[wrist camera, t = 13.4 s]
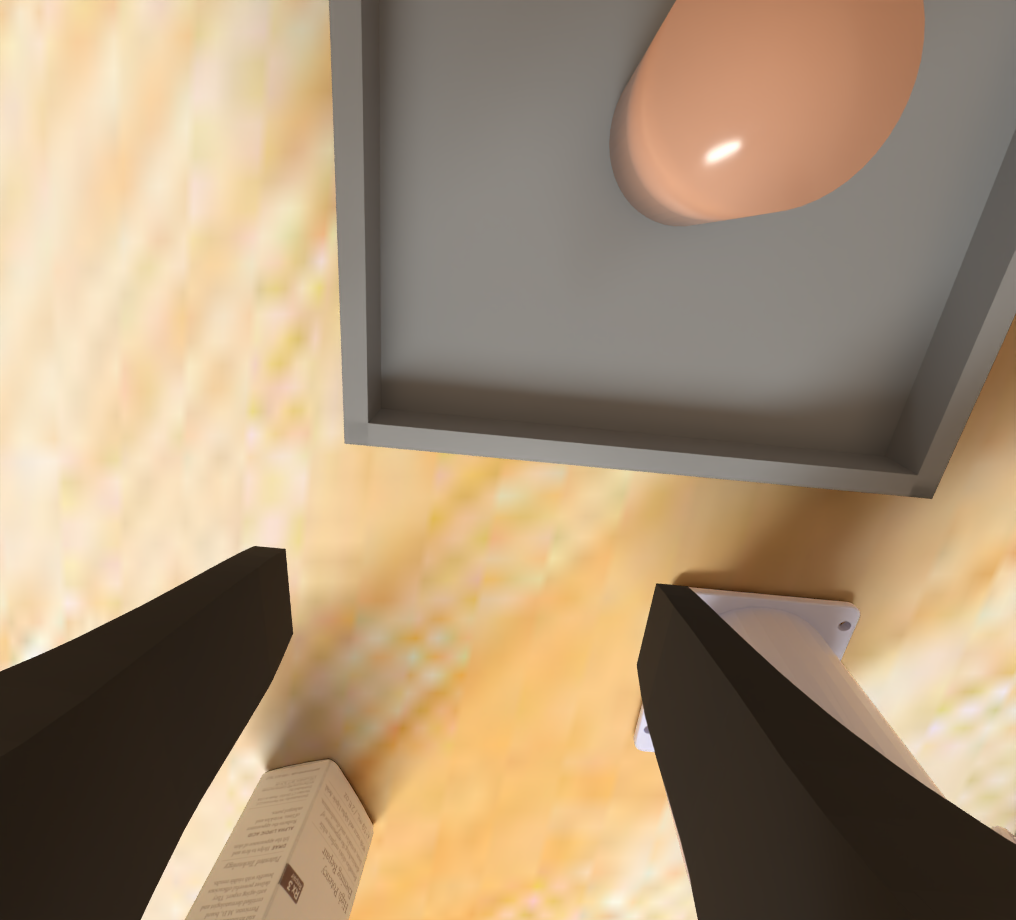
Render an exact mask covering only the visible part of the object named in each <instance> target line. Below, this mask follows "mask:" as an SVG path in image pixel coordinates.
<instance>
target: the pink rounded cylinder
mask: <svg viewBox="0 0 1016 920" xmlns="http://www.w3.org/2000/svg"><path fill="white" fill-rule="evenodd" d="M924 28H925V14H924V2H923V0H676V1H675V3H674V5H673V6H672V8H671V10H670V12H669V13H668V15H667V17H666V18H665V20H664V22H663V23H662V25H661V27H660V29H659V30H658V32H657V34H656V35H655V37H654V39H653V40H652V42H651V44H650V46H649V47H648V49H647V51H646V52H645V54H644V56H643V57H642V59H641V61H640V63H639V64H638V66H637V68H636V69H635V71H634V73H633V74H632V76H631V78H630V80H629V81H628V83H627V85H626V86H625V88H624V90H623V92H622V94H621V96H620V98H619V100H618V103H617V105H616V108H615V111H614V115H613V118H612V123H611V129H610V140H609V149H610V160H611V166H612V170H613V173H614V177H615V179H616V182H617V184H618V186H619V188H620V190H621V192H622V193H623V195H624V197H625V198H626V199H627V200H628V202H629V203H630V204H631V205H632V206H633V207H634V208H635V209H636V210H637V211H638V212H640V213H641V214H642V215H644V216H645V217H647V218H649V219H651V220H653V221H655V222H658V223H661V224H664V225H669V226H683V227H686V226H693V225H700V224H706V223H712V222H718V221H725V220H731V219H737V218H743V217H749V216H755V215H762V214H768V213H774V212H780V211H786V210H790V209H793V208H797V207H801V206H803V205H806V204H808V203H811V202H813V201H816V200H818V199H820V198H822V197H823V196H825V195H827V194H829V193H831V192H832V191H834V190H835V189H837V188H838V187H840V186H841V185H843V184H844V183H845V182H847V181H848V180H849V179H850V178H852V177H853V176H854V175H855V174H856V173H857V172H858V171H860V170H861V169H862V168H863V167H864V166H865V165H866V164H867V163H868V161H869V160H870V159H871V158H872V157H873V156H874V155H875V154H876V153H877V151H878V150H879V149H880V147H881V146H882V145H883V144H884V142H885V141H886V140H887V138H888V137H889V135H890V134H891V132H892V130H893V129H894V127H895V125H896V124H897V122H898V121H899V119H900V117H901V115H902V113H903V111H904V109H905V107H906V104H907V102H908V100H909V98H910V95H911V92H912V89H913V87H914V84H915V81H916V78H917V74H918V70H919V66H920V62H921V57H922V50H923V43H924Z"/></svg>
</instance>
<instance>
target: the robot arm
mask: <svg viewBox="0 0 1016 920" xmlns="http://www.w3.org/2000/svg"><path fill="white" fill-rule="evenodd" d="M859 618H860V611H859V609H858V608H857V607H856V606H855V605H854V604H852V603H850V602H843V601H832V600H821V599H810V598H800V597H789V596H778V595H767V594H757V593H746V592H735V591H724V590H714V589H703V588H692V587H688V586H678V585H667V584H656V587H655V591H654V595H653V600H652V604H651V608H650V612H649V616H648V620H647V625H646V629H645V633H644V637H643V641H642V645H641V650H640V654H639V658H638V662H637V670H638V677H639V684H640V690H641V697H642V702H643V703H642V707H641V711H640V714H639V718H638V722H637V726H636V730H635V734H634V743H635V746H636V748H637V749H639V750H641V751H648V752H655V755H656V758H657V762H658V765H659V768H660V772H661V775H662V779H663V783H664V787H665V791H666V795H667V798H668V802H669V806H670V810H671V814H672V818H673V822H674V826H675V829H676V833H677V837H678V841H679V845H680V849H681V853H682V857H683V860H684V864H685V868H686V872H687V876H688V878H689V881H690V884H691V887H692V892H693V897H694V902H695V907H696V912H697V917H698V920H1016V836H1014V835H1012V834H1011V833H1010V832H1009V831H1008V830H1007V829H1005V828H1002V827H999V826H996V827H992V828H989V827H987V826H986V825H984V824H983V823H981V822H980V821H978V820H977V819H975V818H974V817H972V816H971V815H969V814H968V813H966V812H965V811H963V810H962V809H960V808H959V807H957V806H956V805H954V804H953V803H951V802H950V801H948V800H947V799H946V798H945V797H944V795H943V794H942V793H941V792H940V790H939V789H938V788H937V786H936V785H935V784H934V782H933V781H932V780H931V778H930V777H929V776H928V775H927V773H926V772H925V771H924V769H923V768H922V767H921V765H920V764H919V763H918V761H917V760H916V759H915V758H914V756H913V755H912V754H911V752H910V751H909V750H908V748H907V747H906V746H905V745H904V743H903V742H902V741H901V739H900V738H899V737H898V735H897V734H896V733H895V731H894V730H893V729H892V728H891V726H890V725H889V724H888V722H887V721H886V720H885V718H884V717H883V716H882V714H881V713H880V712H879V711H878V709H877V708H876V707H875V705H874V704H873V703H872V701H871V700H870V699H869V697H868V696H867V695H866V694H865V692H864V691H863V690H862V688H861V687H860V686H859V684H858V683H857V682H856V680H855V679H854V678H853V677H852V675H851V674H850V673H849V671H848V670H847V669H846V667H845V666H844V665H843V663H842V662H841V659H842V657H843V654H844V652H845V650H846V647H847V645H848V643H849V641H850V638H851V636H852V634H853V631H854V629H855V627H856V624H857V622H858V620H859ZM842 622H844V623H843V624H841V625H839V624H840V623H842ZM292 635H293V627H292V616H291V605H290V594H289V583H288V571H287V560H286V549H280V548H269V547H258V546H253V547H251V548H249V549H247V550H245V551H242V552H240V553H238V554H236V555H235V556H233V557H231V558H229V559H227V560H225V561H223V562H221V563H219V564H218V565H216V566H214V567H212V568H210V569H208V570H207V571H205V572H203V573H201V574H199V575H197V576H196V577H194V578H192V579H190V580H188V581H186V582H185V583H183V584H181V585H179V586H177V587H175V588H173V589H172V590H170V591H168V592H166V593H164V594H162V595H161V596H159V597H157V598H155V599H153V600H151V601H149V602H148V603H146V604H144V605H142V606H140V607H138V608H136V609H134V610H132V611H130V612H128V613H126V614H124V615H122V616H120V617H118V618H116V619H114V620H112V621H110V622H108V623H106V624H104V625H102V626H100V627H98V628H96V629H94V630H92V631H90V632H88V633H86V634H84V635H82V636H80V637H78V638H75V639H73V640H71V641H69V642H67V643H65V644H63V645H60V646H58V647H56V648H54V649H52V650H49V651H47V652H45V653H43V654H40V655H38V656H36V657H34V658H31V659H29V660H26V661H24V662H22V663H19V664H17V665H15V666H12V667H10V668H8V669H5V670H3V671H0V920H141V918H142V916H143V914H144V911H145V909H146V907H147V905H148V903H149V901H150V899H151V897H152V894H153V892H154V890H155V888H156V886H157V884H158V882H159V880H160V878H161V876H162V874H163V872H164V870H165V868H166V866H167V864H168V862H169V860H170V858H171V856H172V854H173V852H174V850H175V848H176V846H177V844H178V842H179V840H180V838H181V836H182V833H183V832H184V830H185V828H186V826H187V824H188V822H189V821H190V819H191V817H192V815H193V813H194V812H195V810H196V808H197V806H198V804H199V803H200V801H201V799H202V797H203V796H204V794H205V793H206V791H207V789H208V788H209V786H210V784H211V783H212V781H213V779H214V778H215V776H216V774H217V773H218V771H219V769H220V768H221V766H222V764H223V763H224V761H225V759H226V758H227V756H228V754H229V753H230V751H231V750H232V748H233V746H234V745H235V743H236V741H237V740H238V738H239V736H240V735H241V733H242V731H243V730H244V728H245V726H246V725H247V723H248V721H249V720H250V718H251V716H252V715H253V713H254V711H255V710H256V708H257V706H258V705H259V703H260V701H261V699H262V698H263V696H264V694H265V693H266V691H267V689H268V688H269V686H270V684H271V682H272V680H273V678H274V676H275V674H276V671H277V669H278V667H279V665H280V663H281V661H282V658H283V656H284V654H285V651H286V649H287V646H288V644H289V642H290V639H291V637H292ZM646 726H647V727H646Z"/></svg>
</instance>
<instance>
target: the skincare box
mask: <svg viewBox="0 0 1016 920" xmlns="http://www.w3.org/2000/svg"><path fill="white" fill-rule="evenodd" d="M372 836H373V824H372V822H371V820H370V819H369V817H368V815H367V813H366V811H365V809H364V807H363V806H362V804H361V802H360V800H359V799H358V797H357V795H356V794H355V792H354V790H353V789H352V787H351V785H350V784H349V782H348V781H347V779H346V778H345V776H344V774H343V773H342V771H341V770H340V768H339V767H338V765H337V764H336V763H335V762H334V761H332V760H330V759H327V760H320V761H313V762H307V763H302V764H297V765H292V766H287V767H283V768H279V769H275V770H272V771H269V772H266V773H264V774H263V775H262V777H261V779H260V781H259V783H258V784H257V786H256V788H255V790H254V792H253V794H252V796H251V798H250V799H249V801H248V803H247V805H246V807H245V809H244V811H243V813H242V815H241V816H240V818H239V820H238V822H237V824H236V826H235V828H234V829H233V831H232V833H231V835H230V837H229V839H228V840H227V842H226V844H225V846H224V848H223V850H222V852H221V853H220V855H219V857H218V859H217V861H216V863H215V865H214V866H213V868H212V870H211V872H210V874H209V876H208V877H207V879H206V881H205V883H204V885H203V887H202V889H201V891H200V892H199V894H198V896H197V898H196V900H195V902H194V904H193V905H192V907H191V909H190V911H189V913H188V915H187V917H186V918H185V920H348V919H349V916H350V912H351V909H352V906H353V902H354V899H355V895H356V892H357V888H358V885H359V881H360V878H361V874H362V871H363V867H364V864H365V861H366V857H367V853H368V850H369V847H370V843H371V840H372Z"/></svg>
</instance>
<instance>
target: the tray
mask: <svg viewBox="0 0 1016 920" xmlns="http://www.w3.org/2000/svg"><path fill="white" fill-rule="evenodd" d="M675 1H676V0H329V11H330V40H331V68H332V97H333V125H334V154H335V182H336V211H337V239H338V268H339V296H340V325H341V353H342V382H343V410H344V439H345V444H355V445H366V446H377V447H387V448H398V449H408V450H419V451H430V452H440V453H451V454H462V455H472V456H483V457H493V458H504V459H515V460H525V461H536V462H547V463H557V464H568V465H578V466H589V467H600V468H610V469H621V470H631V471H642V472H653V473H663V474H674V475H685V476H695V477H706V478H716V479H727V480H738V481H748V482H759V483H770V484H780V485H791V486H801V487H812V488H823V489H833V490H844V491H854V492H865V493H876V494H886V495H897V496H908V497H918V498H929V499H932V498H933V495H934V493H935V491H936V489H937V487H938V484H939V482H940V480H941V478H942V476H943V473H944V471H945V469H946V467H947V465H948V462H949V460H950V458H951V456H952V454H953V451H954V449H955V447H956V445H957V442H958V440H959V438H960V436H961V434H962V431H963V429H964V427H965V425H966V423H967V420H968V418H969V416H970V414H971V412H972V409H973V407H974V405H975V403H976V401H977V398H978V396H979V394H980V392H981V389H982V387H983V385H984V383H985V381H986V378H987V376H988V374H989V372H990V370H991V367H992V365H993V363H994V361H995V359H996V356H997V354H998V352H999V350H1000V348H1001V345H1002V343H1003V341H1004V339H1005V336H1006V334H1007V332H1008V330H1009V328H1010V325H1011V323H1012V321H1013V319H1014V317H1015V314H1016V0H923V2H924V14H925V28H924V43H923V50H922V57H921V62H920V66H919V70H918V74H917V78H916V81H915V84H914V87H913V89H912V92H911V95H910V98H909V100H908V102H907V104H906V107H905V109H904V111H903V113H902V115H901V117H900V119H899V121H898V122H897V124H896V125H895V127H894V129H893V130H892V132H891V134H890V135H889V137H888V138H887V140H886V141H885V142H884V144H883V145H882V146H881V147H880V149H879V150H878V151H877V153H876V154H875V155H874V156H873V157H872V158H871V159H870V160H869V161H868V163H867V164H866V165H865V166H864V167H863V168H862V169H861V170H860V171H858V172H857V173H856V174H855V175H854V176H853V177H852V178H850V179H849V180H848V181H847V182H845V183H844V184H843V185H841V186H840V187H838V188H837V189H835V190H834V191H832V192H831V193H829V194H827V195H825V196H823V197H822V198H820V199H818V200H816V201H813V202H811V203H808V204H806V205H803V206H801V207H797V208H793V209H790V210H786V211H780V212H774V213H768V214H762V215H755V216H749V217H743V218H737V219H731V220H725V221H718V222H712V223H706V224H700V225H693V226H686V227H683V226H669V225H664V224H661V223H658V222H655V221H653V220H651V219H649V218H647V217H645V216H644V215H642V214H641V213H640V212H638V211H637V210H636V209H635V208H634V207H633V206H632V205H631V204H630V203H629V202H628V200H627V199H626V198H625V197H624V195H623V193H622V192H621V190H620V188H619V186H618V184H617V182H616V179H615V177H614V173H613V170H612V166H611V160H610V149H609V140H610V129H611V123H612V118H613V115H614V111H615V108H616V105H617V103H618V100H619V98H620V96H621V94H622V92H623V90H624V88H625V86H626V85H627V83H628V81H629V80H630V78H631V76H632V74H633V73H634V71H635V69H636V68H637V66H638V64H639V63H640V61H641V59H642V57H643V56H644V54H645V52H646V51H647V49H648V47H649V46H650V44H651V42H652V40H653V39H654V37H655V35H656V34H657V32H658V30H659V29H660V27H661V25H662V23H663V22H664V20H665V18H666V17H667V15H668V13H669V12H670V10H671V8H672V6H673V5H674V3H675Z"/></svg>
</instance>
